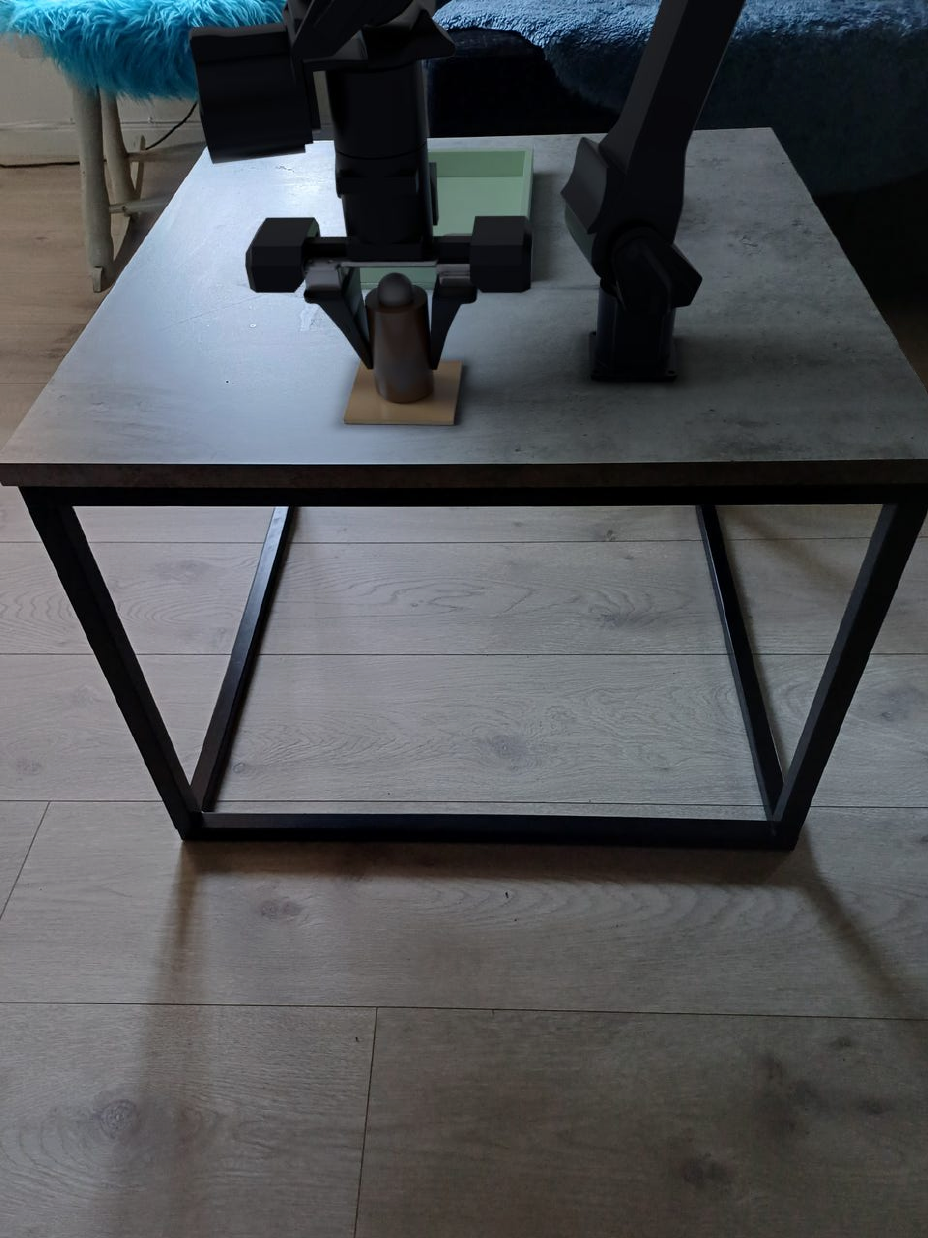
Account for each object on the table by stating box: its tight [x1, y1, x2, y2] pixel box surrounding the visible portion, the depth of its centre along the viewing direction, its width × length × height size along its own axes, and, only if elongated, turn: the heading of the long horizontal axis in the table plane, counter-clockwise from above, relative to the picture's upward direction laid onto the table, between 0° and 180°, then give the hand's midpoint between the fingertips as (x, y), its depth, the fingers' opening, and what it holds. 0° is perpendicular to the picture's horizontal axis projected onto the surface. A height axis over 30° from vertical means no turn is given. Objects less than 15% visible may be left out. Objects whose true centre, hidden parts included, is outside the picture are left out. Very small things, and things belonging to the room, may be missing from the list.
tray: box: [360, 147, 535, 290], centre depth 88 cm, size 24×15×3 cm, turn 175°
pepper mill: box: [364, 272, 434, 402], centre depth 67 cm, size 4×4×9 cm
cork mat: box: [342, 359, 464, 426], centre depth 70 cm, size 8×8×1 cm
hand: (403, 366), depth 69 cm, fingers closed on pepper mill, 4 cm apart
